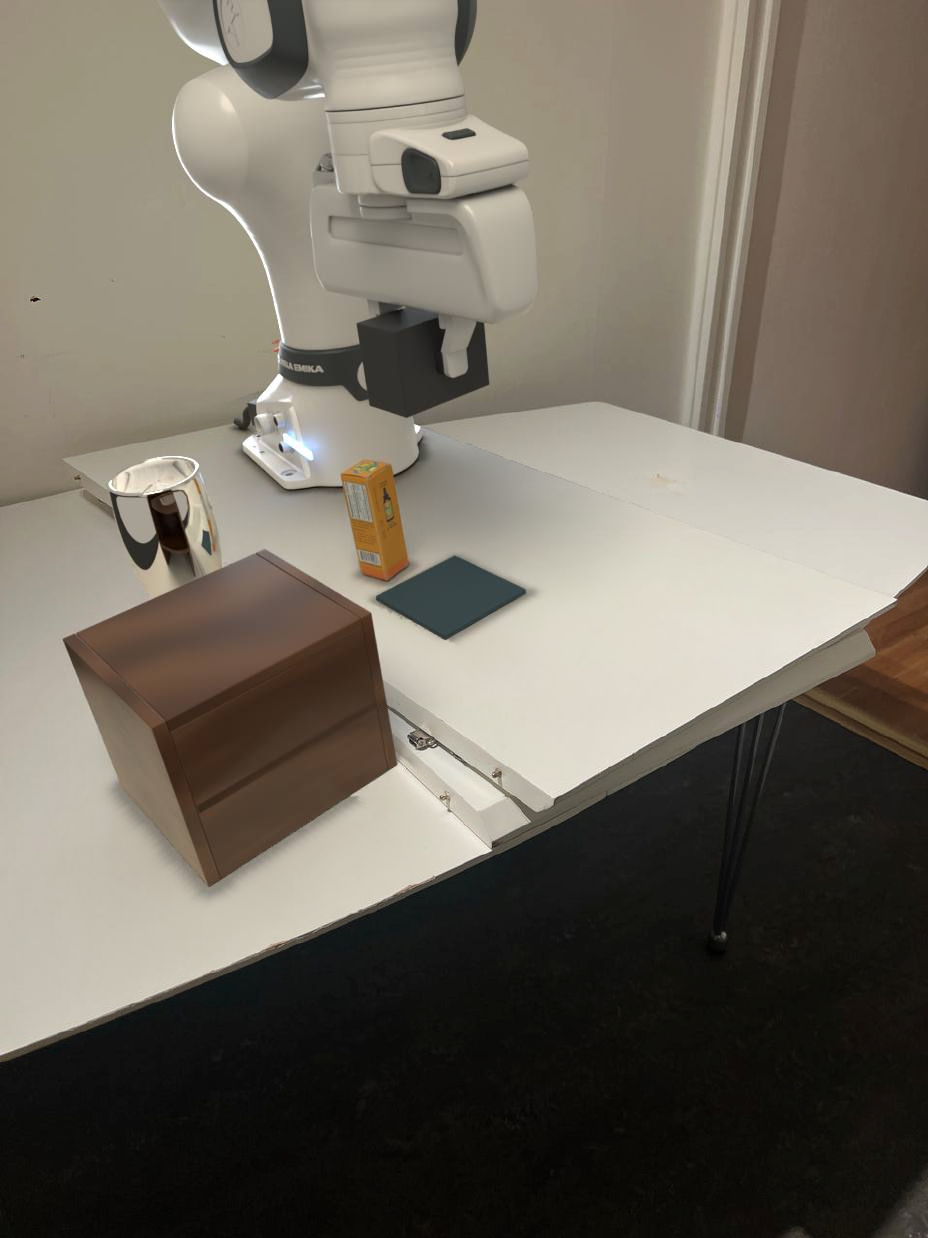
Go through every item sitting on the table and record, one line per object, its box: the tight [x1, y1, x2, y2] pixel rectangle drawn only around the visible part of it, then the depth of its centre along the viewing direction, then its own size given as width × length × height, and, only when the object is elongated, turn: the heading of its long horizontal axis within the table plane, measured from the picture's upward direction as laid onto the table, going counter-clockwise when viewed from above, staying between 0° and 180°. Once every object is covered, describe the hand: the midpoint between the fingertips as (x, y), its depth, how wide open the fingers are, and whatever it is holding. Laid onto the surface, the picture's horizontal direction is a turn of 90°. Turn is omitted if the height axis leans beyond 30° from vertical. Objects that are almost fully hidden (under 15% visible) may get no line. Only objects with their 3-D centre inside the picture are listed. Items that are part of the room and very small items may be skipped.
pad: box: [375, 555, 527, 640], centre depth 76 cm, size 9×9×1 cm
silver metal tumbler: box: [106, 455, 223, 600], centre depth 70 cm, size 7×7×15 cm
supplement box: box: [340, 459, 409, 581], centre depth 78 cm, size 3×3×10 cm
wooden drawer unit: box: [62, 548, 398, 887], centre depth 57 cm, size 12×14×12 cm
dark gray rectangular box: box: [356, 307, 490, 418], centre depth 65 cm, size 4×8×6 cm, turn 132°
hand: (426, 367), depth 66 cm, fingers closed on dark gray rectangular box, 4 cm apart
